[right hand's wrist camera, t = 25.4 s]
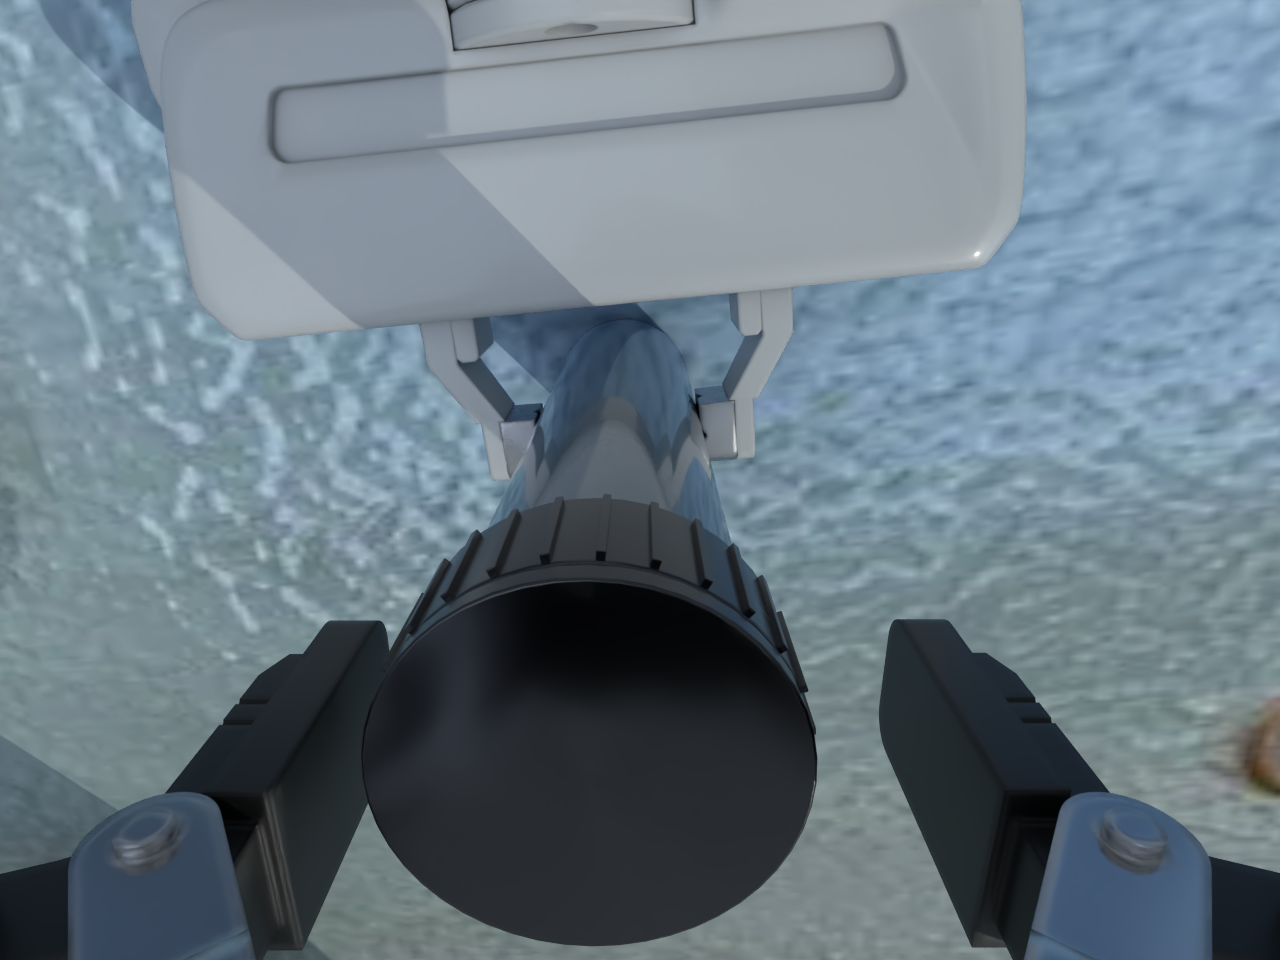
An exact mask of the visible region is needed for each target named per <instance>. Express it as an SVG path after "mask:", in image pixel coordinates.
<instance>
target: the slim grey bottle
mask: <svg viewBox="0 0 1280 960" xmlns="http://www.w3.org/2000/svg"><path fill="white" fill-rule="evenodd" d="M603 494H611V495H612V497H611V499H621V500H628V501H633V502H638V503H643V504H648V505H650V503H651V501H653V502H657V503H659V508H661V509H664V510H667V511H670V512H673V513H676V514H678V515H680V516H682V517H684V518H687V519H689V520H691V521H694V519H695V518H697V519H699V520H701V521H702V524H703V528H705V529H707V530H708V531H710V532H711V533H713V534H714V535H716V536H717V537H719V538H720V539H721V540H722V541H724V542H725V543H726V544H727V545H728V546H730V545H731V544H732V543H731V540H730V536H729V532H728V528H727V524H726V520H725V516H724V512H723V509H722V505H721V501H720V497H719V493H718V489H717V485H716V482H715V478H714V474H713V470H712V466H711V462H710V458H709V454H708V451H707V447H706V443H705V439H704V435H703V431H702V427H701V423H700V420H699V416H698V412H697V408H696V404H695V400H694V396H693V393H692V389H691V385H690V381H689V377H688V373H687V369H686V365H685V362H684V359H683V357H682V354H681V353H680V351H679V349H678V347H677V346H676V345H675V344H674V342H673V341H672V340H671V339H670V338H669V337H668V336H667V335H666V334H665V333H663V332H662V331H661V330H659V329H657V328H656V327H654V326H652V325H650V324H647V323H644V322H641V321H637V320H629V319H620V320H613V321H609V322H605V323H602V324H600V325H598V326H595V327H594V328H592V329H590V330H589V331H588V332H586V333H585V334H584V335H583V336H582V337H581V338H580V339H579V340H578V341H577V342H576V343H575V345H574V346H573V347H572V349H571V351H570V353H569V354H568V356H567V359H566V361H565V363H564V365H563V367H562V369H561V372H560V374H559V376H558V378H557V380H556V382H555V384H554V387H553V389H552V391H551V393H550V395H549V397H548V400H547V402H546V404H545V406H544V408H543V410H542V412H541V415H540V417H539V419H538V421H537V423H536V425H535V428H534V430H533V432H532V434H531V436H530V438H529V441H528V443H527V445H526V447H525V449H524V451H523V453H522V456H521V458H520V460H519V462H518V464H517V466H516V469H515V471H514V473H513V475H512V477H511V479H510V481H509V484H508V486H507V488H506V490H505V492H504V494H503V497H502V499H501V501H500V503H499V505H498V507H497V509H496V512H495V514H494V516H493V518H492V520H491V522H490V525H489V527H488V528H490V527H491V526H493V525H494V524H496V523H498V522H499V521H501V520H504V519H506V518H508V516H509V513H510V511H512V510H514V509H517V508H518V510H519V512H521V511H524V510H527V509H531V508H534V507H537V506H540V505H544V504H547V503H553V502H554V501H555V498H556V497H561V496H563V497H564V500H570V499H585V498H603Z"/></svg>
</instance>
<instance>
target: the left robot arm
mask: <svg viewBox="0 0 1280 960" xmlns="http://www.w3.org/2000/svg"><path fill="white" fill-rule="evenodd" d="M131 17H132V24H133V29H134V33H135V36H136V40H137V43H138V47H139V50H140V54H141V57H142V61H143V64H144V68H145V71H146V75H147V78H148V82H149V85H150V88H151V90H152V93H153V95H154V97H155V99H156V101H157V103H158V104H159V106H160V107H161V109H162V119H163V128H164V137H165V145H166V152H167V160H168V168H169V175H170V182H171V188H172V193H173V199H174V205H175V211H176V217H177V222H178V227H179V232H180V237H181V242H182V247H183V251H184V255H185V260H186V264H187V269H188V273H189V277H190V280H191V284H192V287H193V291H194V293H195V296H196V298H197V300H198V302H199V304H200V305H201V307H202V308H203V309H204V310H205V311H207V312H208V313H209V314H210V315H211V316H212V317H213V318H214V319H215V320H216V321H217V322H219V323H220V324H221V325H222V326H223V327H224V328H225V329H226V330H228V331H229V332H230V333H231V334H232V335H234V336H235V337H237V338H239V339H241V340H259V339H270V338H280V337H290V336H300V335H310V334H321V333H331V332H341V331H351V330H361V329H372V328H382V327H392V326H402V325H412V324H420V330H421V335H422V340H423V345H424V350H425V355H426V360H427V365H428V368H429V369H430V370H431V371H432V373H433V374H434V375H435V376H436V377H437V378H438V380H439V381H440V382H441V383H442V384H443V385H444V387H445V388H446V389H447V390H448V391H449V392H450V394H451V395H452V396H453V397H454V398H455V399H456V401H457V402H458V403H459V404H460V405H461V406H462V408H463V409H464V410H465V411H466V412H467V413H468V415H469V416H470V417H471V418H472V419H473V421H474V422H475V423H476V424H481V425H482V431H483V436H484V442H485V448H486V453H487V459H488V464H489V470H490V475H491V477H492V479H493V480H494V481H498V480H510V479H511V477H512V475H513V473H514V471H515V469H516V466H517V464H518V462H519V460H520V458H521V456H522V453H523V451H524V449H525V447H526V445H527V443H528V441H529V438H530V436H531V434H532V432H533V430H534V428H535V425H536V423H537V421H538V419H539V417H540V415H541V412H542V410H543V405H542V403H538V404H524V405H514V402H513V401H512V400H511V398H510V397H509V396H508V394H507V393H506V392H505V390H504V389H503V388H502V386H501V385H500V384H499V382H498V381H497V380H496V378H495V377H494V376H493V374H492V373H491V372H490V370H489V369H488V368H487V366H486V365H485V364H484V362H483V361H482V360H481V358H480V357H481V356H482V354H483V353H484V352H485V351H486V350H487V349H488V348H489V347H490V346H491V345H492V344H493V336H492V330H491V323H490V317H494V316H504V315H514V314H524V313H535V312H545V311H555V310H565V309H575V308H586V307H596V306H606V305H616V304H626V303H636V302H647V301H657V300H667V299H677V298H687V297H698V296H708V295H718V294H728V293H729V301H730V316H731V320H732V322H733V323H734V325H735V326H736V328H737V329H738V331H739V332H740V333H741V334H743V335H744V336H745V338H744V340H743V342H742V344H741V346H740V348H739V350H738V352H737V354H736V356H735V358H734V361H733V363H732V365H731V367H730V369H729V371H728V373H727V375H726V377H725V379H724V381H723V383H722V384H723V386H715V387H707V388H698V389H695V401H696V408H697V412H698V416H699V420H700V423H701V427H702V431H703V435H704V439H705V443H706V447H707V451H708V454H709V458H710V461H721V460H733V459H743V458H754V455H755V434H754V412H753V399H754V398H758V396H759V394H760V393H761V391H762V389H763V387H764V385H765V383H766V382H767V380H768V378H769V376H770V374H771V372H772V370H773V369H774V367H775V365H776V363H777V361H778V359H779V358H780V356H781V354H782V352H783V350H784V348H785V347H786V345H787V343H788V341H789V339H790V337H791V336H792V334H793V303H792V287H799V286H810V285H820V284H830V283H840V282H850V281H861V280H871V279H881V278H891V277H901V276H911V275H922V274H932V273H942V272H952V271H962V270H971V269H977V268H980V267H982V266H984V265H985V264H986V263H987V262H988V261H989V260H990V259H991V258H992V256H993V255H994V254H995V253H996V252H997V250H998V249H999V248H1000V246H1001V245H1002V243H1003V242H1004V241H1005V239H1006V238H1007V237H1008V235H1009V234H1010V233H1011V231H1012V230H1013V228H1014V227H1015V225H1016V223H1017V221H1018V219H1019V215H1020V211H1021V206H1022V199H1023V190H1024V176H1025V159H1026V127H1027V93H1026V58H1025V38H1024V23H1023V9H1022V1H1021V0H132V1H131Z"/></svg>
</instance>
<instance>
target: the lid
mask: <svg viewBox="0 0 1280 960" xmlns="http://www.w3.org/2000/svg"><path fill="white" fill-rule="evenodd" d="M611 497H612V495H611V494H603V498H585V499H570V500H564V497H563V496H561V497H556V498H555V501H554V502H553V503H547V504H544V505H540V506H537V507H534V508H531V509H527V510H524V511H521V512H519V510H518V508H517V509H514V510H512V511H510V513H509V516H508V518H506V519H504V520H501V521H499V522H498V523H496V524H494V525H493V526H491V527H490V528H488V529H486V530H485V531H483V532H482V533H480V532H479V531H478V530H476V531H474V532H473V533H471V535H470V537H469V539H468V541H467V543H466V545H465V546H464V547H463V548H462V549H460V551H459V552H458V553H457V554H456V555H455V556H454V557H453V558H452V559H451V561H448V560H447V559H444V560H443V561H442V562H441V563H440V565H439V567H438V569H437V571H436V572H435V574H434V576H433V578H432V580H431V582H430V583H429V585H428V587H427V589H426V591H425V592H424V593H422V594H421V595H420V597H419V599H418V601H417V603H416V604H415V606H414V608H413V610H412V612H411V613H410V615H409V617H408V619H407V621H406V622H405V624H404V626H403V628H402V630H401V632H400V633H399V635H398V637H397V639H396V641H395V642H394V644H393V646H392V648H391V650H390V651H389V653H388V655H387V657H386V659H385V660H384V662H383V664H382V666H381V669H380V670H381V671H383V672H386V673H385V675H384V677H383V679H382V680H381V682H380V685H379V687H378V689H377V691H376V693H375V695H374V698H373V700H372V702H371V704H370V707H369V711H368V715H367V718H366V722H365V726H364V731H363V740H362V750H361V758H362V775H363V782H364V786H365V791H366V795H367V800H368V803H369V806H370V809H371V811H372V814H373V816H374V819H375V821H376V824H377V826H378V828H379V829H380V831H381V833H382V835H383V837H384V838H385V840H386V842H387V844H388V845H389V847H390V848H391V849H392V851H393V852H394V853H395V855H396V856H397V857H398V859H399V860H400V861H401V863H402V864H403V865H404V866H405V867H406V868H407V869H408V870H409V871H410V872H411V873H412V874H413V875H414V876H415V877H416V878H417V879H418V880H419V881H420V882H421V883H422V884H423V885H424V886H425V887H427V888H428V889H429V890H430V891H432V892H433V893H434V894H435V895H437V896H438V897H439V898H440V899H442V900H443V901H445V902H447V903H448V904H450V905H451V906H453V907H454V908H456V909H458V910H459V911H461V912H462V913H464V914H466V915H468V916H470V917H472V918H475V919H477V920H479V921H481V922H483V923H485V924H487V925H490V926H492V927H495V928H498V929H500V930H503V931H506V932H509V933H511V934H515V935H519V936H523V937H527V938H531V939H535V940H539V941H545V942H552V943H558V944H564V945H581V946H609V945H623V944H631V943H638V942H645V941H650V940H654V939H658V938H662V937H667V936H671V935H674V934H677V933H680V932H682V931H685V930H688V929H691V928H694V927H697V926H699V925H701V924H703V923H705V922H707V921H709V920H711V919H714V918H716V917H718V916H720V915H721V914H723V913H725V912H726V911H728V910H729V909H731V908H733V907H734V906H736V905H738V904H739V903H741V902H742V901H743V900H745V899H746V898H747V897H748V896H750V895H751V894H752V893H753V892H755V891H756V890H757V889H759V888H760V887H761V886H762V885H763V884H764V883H765V882H766V881H767V880H768V879H769V878H770V877H771V876H772V875H773V874H774V873H775V872H776V871H777V869H778V868H779V867H780V865H781V864H782V863H783V861H784V860H785V859H786V858H787V856H788V855H789V854H790V852H791V851H792V849H793V847H794V845H795V844H796V842H797V840H798V838H799V836H800V835H801V833H802V831H803V829H804V826H805V823H806V821H807V818H808V815H809V812H810V810H811V807H812V802H813V797H814V792H815V787H816V782H817V752H816V744H815V736H814V735H815V734H816V728H815V725H814V721H813V718H812V715H811V712H810V709H809V706H808V703H807V700H806V697H805V694H804V693H805V692H808V688H807V685H806V682H805V679H804V676H803V673H802V670H801V667H800V664H799V661H798V658H797V655H796V652H795V649H794V647H793V644H792V641H791V638H790V635H789V632H788V629H787V626H786V623H785V620H784V617H783V614H782V611H780V612H776V609H775V606H774V603H773V600H772V597H771V594H770V591H769V588H768V585H767V582H766V579H765V578H764V576H763V575H761V576H759V577H758V578H757V576H756V575H755V573H754V572H753V570H752V569H751V568H750V567H749V566H748V565H747V563H746V562H745V561H744V560H743V559H742V558H741V555H740V552H739V548H738V547H737V546H736V545H735V544H734V543H733V544H731V545H730V546H728V545H727V544H726V543H725V542H724V541H722V540H721V539H720V538H719V537H717V536H716V535H714V534H713V533H711V532H710V531H708V530H707V529H705V528H703V524H702V521H701V520H699V519H697V518H695V519H694V521H691V520H689V519H687V518H684V517H682V516H680V515H678V514H676V513H673V512H670V511H667V510H664V509H661V508H659V503H657V502H653V501H651V503H650V505H648V504H643V503H638V502H633V501H628V500H621V499H611Z"/></svg>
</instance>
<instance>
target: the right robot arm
mask: <svg viewBox="0 0 1280 960" xmlns="http://www.w3.org/2000/svg"><path fill="white" fill-rule="evenodd" d="M388 653H389V645H388V637H387V632H386V628H385V626H384V624H383V623H382V622H381V621H328V622H327V623H326V624H325V625H324V626H323V628H322V629H321V630H320V632H319V633H318V634H317V636H316V637H315V638H314V640H313V641H312V643H311V644H310V645H309V647H308V648H307V649H306V651H305V652H304V653H303V654H289V655H288V656H286V657H285V658H283V659H282V660H280V661H279V662H277V663H276V664H275V665H273V666H272V667H270V668H269V669H267V670H266V671H264V672H263V673H261V674H260V675H259V676H258V677H257V678H256V679H255V681H254V682H253V683H252V684H251V686H250V687H249V688H248V689H247V691H246V692H245V693H244V695H243V696H242V697H241V698H240V703H239V704H236V705H235V706H234V707H233V708H232V710H231V711H230V712H229V713H228V715H227V716H226V717H225V718H224V722H223V725H219V726H218V727H217V729H216V730H215V731H214V732H213V734H212V735H211V736H210V737H209V739H208V740H207V741H206V742H205V744H204V745H203V746H202V747H201V749H200V750H199V751H198V752H197V754H196V755H195V756H194V758H193V759H192V760H191V761H190V763H189V764H188V765H187V766H186V768H185V769H184V770H183V771H182V773H181V774H180V775H179V776H178V778H177V779H176V780H175V781H174V783H173V784H172V785H171V787H170V788H169V789H168V790H167V792H166V793H165V794H162V795H157V796H154V797H150V798H147V799H144V800H141V801H139V802H137V803H134V804H132V805H129V806H128V807H126V808H124V809H122V810H120V811H118V812H116V813H115V814H113V815H111V816H110V817H108V818H107V819H105V820H104V821H103V822H101V823H100V824H99V825H97V826H96V827H95V828H94V829H93V830H92V831H90V832H89V833H88V834H87V835H86V836H85V837H84V839H83V840H82V841H81V842H80V843H79V845H78V846H77V848H76V849H75V851H74V852H73V854H72V857H69V858H65V859H62V860H58V861H54V862H50V863H46V864H41V865H37V866H33V867H29V868H24V869H20V870H16V871H12V872H7V873H3V874H0V960H262V959H263V957H264V955H265V953H266V951H267V950H303V947H304V945H305V943H306V941H307V939H308V936H309V934H310V932H311V930H312V927H313V925H314V923H315V921H316V918H317V916H318V914H319V912H320V909H321V907H322V905H323V903H324V901H325V898H326V896H327V894H328V892H329V889H330V887H331V885H332V883H333V880H334V878H335V876H336V874H337V871H338V869H339V867H340V865H341V862H342V860H343V858H344V856H345V854H346V851H347V849H348V847H349V845H350V842H351V840H352V838H353V836H354V833H355V831H356V829H357V827H358V824H359V822H360V820H361V818H362V815H363V813H364V811H365V809H366V807H367V804H368V800H367V795H366V791H365V786H364V782H363V775H362V758H361V750H362V740H363V731H364V726H365V722H366V718H367V715H368V711H369V707H370V704H371V702H372V700H373V698H374V695H375V693H376V691H377V689H378V687H379V685H380V682H381V680H382V679H383V677H384V675H385V673H386V672H383V671H381V670H380V669H381V666H382V664H383V662H384V660H385V659H386V657H387V655H388ZM879 724H880V732H881V738H882V742H883V746H884V749H885V751H886V754H887V756H888V758H889V760H890V763H891V765H892V767H893V769H894V772H895V774H896V776H897V778H898V781H899V783H900V785H901V788H902V790H903V792H904V794H905V797H906V799H907V801H908V803H909V806H910V808H911V810H912V812H913V815H914V817H915V819H916V822H917V824H918V826H919V828H920V831H921V833H922V835H923V837H924V840H925V842H926V844H927V846H928V849H929V851H930V853H931V856H932V858H933V860H934V862H935V865H936V867H937V869H938V871H939V874H940V876H941V878H942V880H943V883H944V885H945V887H946V890H947V892H948V894H949V896H950V899H951V901H952V903H953V905H954V908H955V910H956V912H957V914H958V917H959V919H960V921H961V924H962V926H963V928H964V930H965V933H966V935H967V937H968V939H969V942H970V944H971V946H972V947H1007V949H1008V951H1009V953H1010V955H1011V957H1012V959H1013V960H1280V873H1277V872H1273V871H1269V870H1264V869H1260V868H1256V867H1252V866H1247V865H1243V864H1239V863H1235V862H1230V861H1226V860H1222V859H1218V858H1214V857H1210V856H1208V854H1207V852H1206V851H1205V849H1204V848H1203V846H1202V845H1201V843H1200V842H1199V841H1198V840H1197V839H1196V837H1195V836H1194V835H1193V834H1192V833H1191V832H1190V831H1188V830H1187V829H1186V828H1185V827H1184V826H1183V825H1181V824H1180V823H1179V822H1177V821H1176V820H1175V819H1173V818H1172V817H1170V816H1169V815H1167V814H1165V813H1164V812H1162V811H1160V810H1158V809H1156V808H1154V807H1152V806H1151V805H1148V804H1146V803H1143V802H1141V801H1139V800H1136V799H1133V798H1130V797H1126V796H1123V795H1118V794H1113V793H1110V792H1109V791H1108V790H1107V788H1106V787H1105V786H1104V785H1103V783H1102V782H1101V781H1100V780H1099V778H1098V777H1097V776H1096V774H1095V773H1094V772H1093V771H1092V769H1091V768H1090V767H1089V766H1088V764H1087V763H1086V762H1085V760H1084V759H1083V758H1082V757H1081V755H1080V754H1079V753H1078V752H1077V750H1076V749H1075V748H1074V746H1073V745H1072V744H1071V743H1070V741H1069V740H1068V739H1067V738H1066V736H1065V735H1064V734H1063V732H1062V731H1061V730H1060V729H1059V727H1058V726H1057V725H1056V724H1055V723H1052V722H1051V717H1050V716H1049V715H1048V713H1047V712H1046V711H1045V710H1044V708H1043V707H1042V706H1041V704H1040V703H1036V701H1035V697H1034V696H1033V694H1032V693H1031V692H1030V690H1029V689H1028V688H1027V687H1026V685H1025V684H1024V683H1023V682H1022V680H1021V679H1020V678H1019V676H1018V675H1017V674H1016V673H1015V672H1013V671H1012V670H1010V669H1009V668H1007V667H1006V666H1004V665H1003V664H1001V663H1000V662H998V661H997V660H996V659H994V658H993V657H991V656H990V655H988V654H987V653H972V652H971V650H970V649H969V648H968V646H967V645H966V644H965V642H964V641H963V639H962V638H961V637H960V635H959V634H958V632H957V631H956V630H955V628H954V627H953V626H952V624H951V623H950V622H949V621H948V620H945V619H897V620H894V621H893V623H892V624H891V627H890V630H889V636H888V643H887V651H886V659H885V666H884V674H883V682H882V689H881V697H880V705H879Z"/></svg>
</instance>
